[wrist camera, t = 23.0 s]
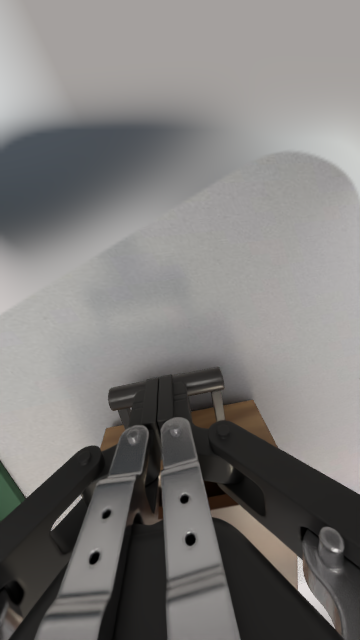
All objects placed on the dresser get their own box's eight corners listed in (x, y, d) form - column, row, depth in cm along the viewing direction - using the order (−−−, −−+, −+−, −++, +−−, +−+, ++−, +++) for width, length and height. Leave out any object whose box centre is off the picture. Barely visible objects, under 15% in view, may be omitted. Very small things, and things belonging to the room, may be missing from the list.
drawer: (82, 370, 17) (53, 420, 13) (247, 338, 17) (276, 376, 13) (150, 535, 25) (146, 601, 20) (264, 513, 25) (285, 576, 20)
